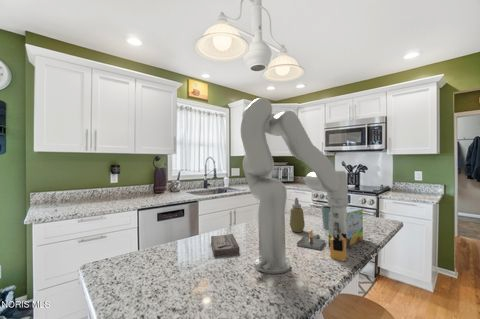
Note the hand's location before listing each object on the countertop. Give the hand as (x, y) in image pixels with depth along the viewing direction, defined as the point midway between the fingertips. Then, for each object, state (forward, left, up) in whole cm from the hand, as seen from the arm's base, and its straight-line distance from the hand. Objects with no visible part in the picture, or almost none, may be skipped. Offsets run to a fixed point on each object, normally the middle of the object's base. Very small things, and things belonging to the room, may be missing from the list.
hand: (340, 246), depth 89 cm
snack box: (+18, 0, -5) cm, 18 cm away
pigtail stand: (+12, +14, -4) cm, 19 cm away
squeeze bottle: (+25, +26, -4) cm, 36 cm away
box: (-14, +45, -5) cm, 48 cm away
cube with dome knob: (-1, +1, -4) cm, 4 cm away
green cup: (+39, +11, -4) cm, 41 cm away
